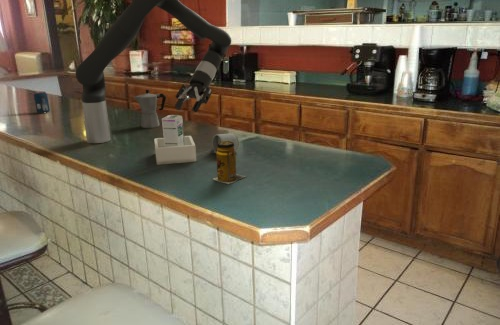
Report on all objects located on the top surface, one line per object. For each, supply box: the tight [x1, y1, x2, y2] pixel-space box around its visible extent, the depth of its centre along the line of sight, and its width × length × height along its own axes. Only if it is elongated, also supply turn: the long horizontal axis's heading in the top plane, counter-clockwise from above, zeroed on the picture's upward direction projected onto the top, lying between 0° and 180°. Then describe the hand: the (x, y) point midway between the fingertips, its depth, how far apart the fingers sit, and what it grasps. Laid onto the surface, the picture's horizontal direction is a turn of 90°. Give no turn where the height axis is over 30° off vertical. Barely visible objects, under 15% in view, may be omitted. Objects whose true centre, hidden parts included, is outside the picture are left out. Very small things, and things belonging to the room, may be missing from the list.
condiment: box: [212, 141, 247, 185], centre depth 125 cm, size 7×8×12 cm
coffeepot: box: [133, 89, 167, 129], centre depth 194 cm, size 15×9×18 cm, turn 113°
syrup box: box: [161, 114, 185, 147], centre depth 146 cm, size 6×6×14 cm
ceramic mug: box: [211, 132, 240, 154], centre depth 153 cm, size 11×8×8 cm
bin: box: [154, 135, 197, 166], centre depth 147 cm, size 14×14×6 cm
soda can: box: [33, 91, 51, 114], centre depth 229 cm, size 7×7×12 cm
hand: (185, 110), depth 148 cm, fingers open, 8 cm apart
